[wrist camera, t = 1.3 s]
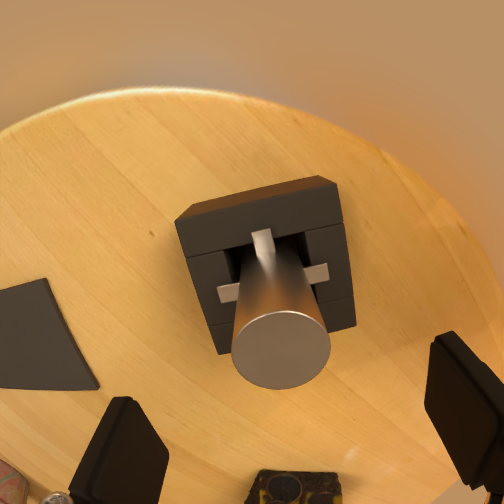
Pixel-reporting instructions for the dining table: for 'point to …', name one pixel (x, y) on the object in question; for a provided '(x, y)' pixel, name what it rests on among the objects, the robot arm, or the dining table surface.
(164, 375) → the dining table surface
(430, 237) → the dining table surface
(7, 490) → the potted plant
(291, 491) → the candle
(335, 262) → the dark square ring block
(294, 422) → the dining table surface
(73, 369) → the mat
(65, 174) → the dining table surface
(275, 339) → the bronze metal rod
